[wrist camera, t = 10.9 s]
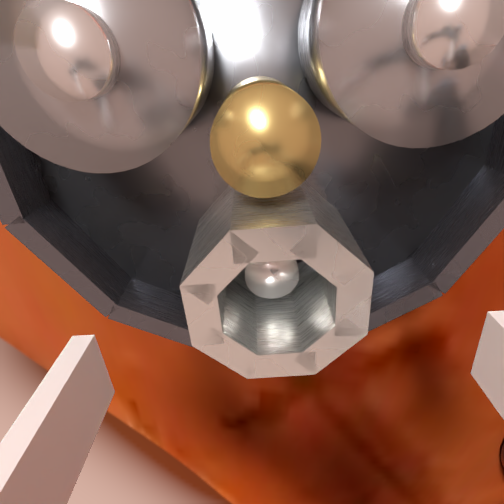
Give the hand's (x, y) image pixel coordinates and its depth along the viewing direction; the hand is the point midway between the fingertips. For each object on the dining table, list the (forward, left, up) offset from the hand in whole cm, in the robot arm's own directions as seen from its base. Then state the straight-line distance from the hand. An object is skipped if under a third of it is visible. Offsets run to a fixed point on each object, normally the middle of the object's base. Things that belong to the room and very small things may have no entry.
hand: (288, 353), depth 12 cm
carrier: (+6, 0, -9) cm, 11 cm away
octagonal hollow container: (+1, 0, -8) cm, 8 cm away
